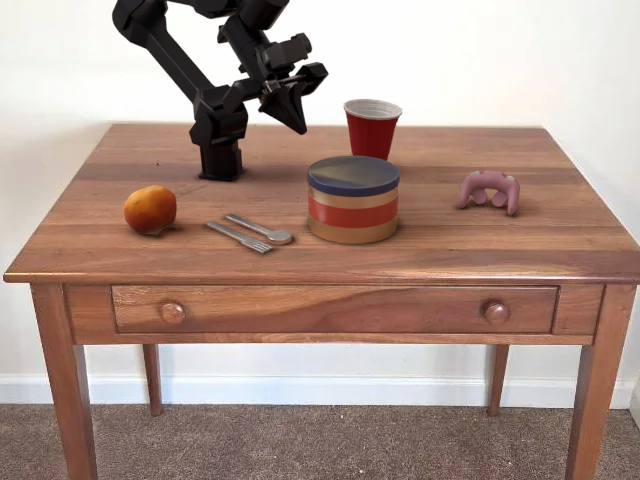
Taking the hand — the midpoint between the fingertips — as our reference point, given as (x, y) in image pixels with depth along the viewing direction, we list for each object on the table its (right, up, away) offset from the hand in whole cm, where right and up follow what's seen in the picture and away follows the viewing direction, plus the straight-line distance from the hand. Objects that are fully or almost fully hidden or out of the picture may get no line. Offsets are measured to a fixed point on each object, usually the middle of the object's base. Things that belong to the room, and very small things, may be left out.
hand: (304, 133), depth 118 cm
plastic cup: (+11, -1, +22) cm, 25 cm away
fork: (-10, -17, -4) cm, 20 cm away
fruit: (-23, -15, -1) cm, 28 cm away
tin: (+8, -14, +1) cm, 16 cm away
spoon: (-7, -16, -1) cm, 17 cm away
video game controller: (+31, -10, +8) cm, 33 cm away
